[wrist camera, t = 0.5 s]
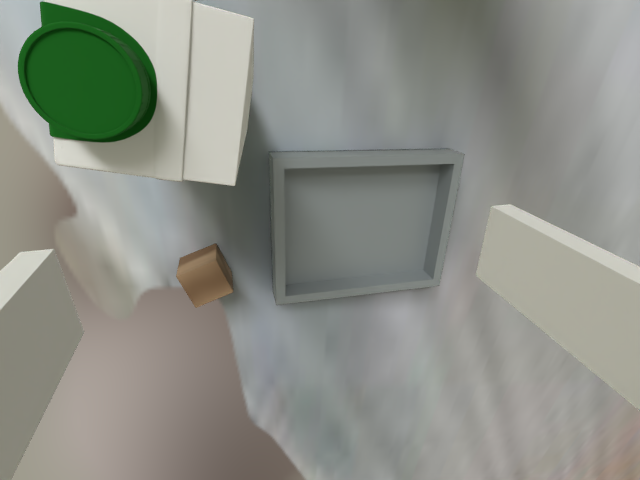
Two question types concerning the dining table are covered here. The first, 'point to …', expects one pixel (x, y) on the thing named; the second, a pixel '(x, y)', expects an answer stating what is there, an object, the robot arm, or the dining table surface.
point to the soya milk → (143, 86)
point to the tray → (359, 220)
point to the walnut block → (205, 275)
